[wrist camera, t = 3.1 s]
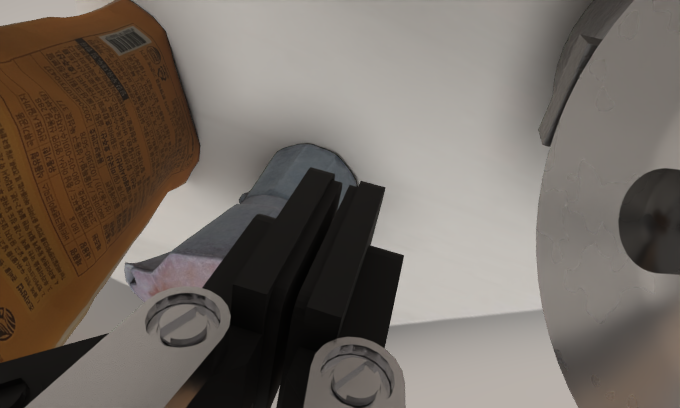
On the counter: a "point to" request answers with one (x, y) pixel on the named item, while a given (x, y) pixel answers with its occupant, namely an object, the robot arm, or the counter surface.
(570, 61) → the cooker pot
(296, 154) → the moka pot
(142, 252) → the counter surface
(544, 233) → the lid
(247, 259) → the robot arm
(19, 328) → the pancake mix bag
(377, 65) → the counter surface
